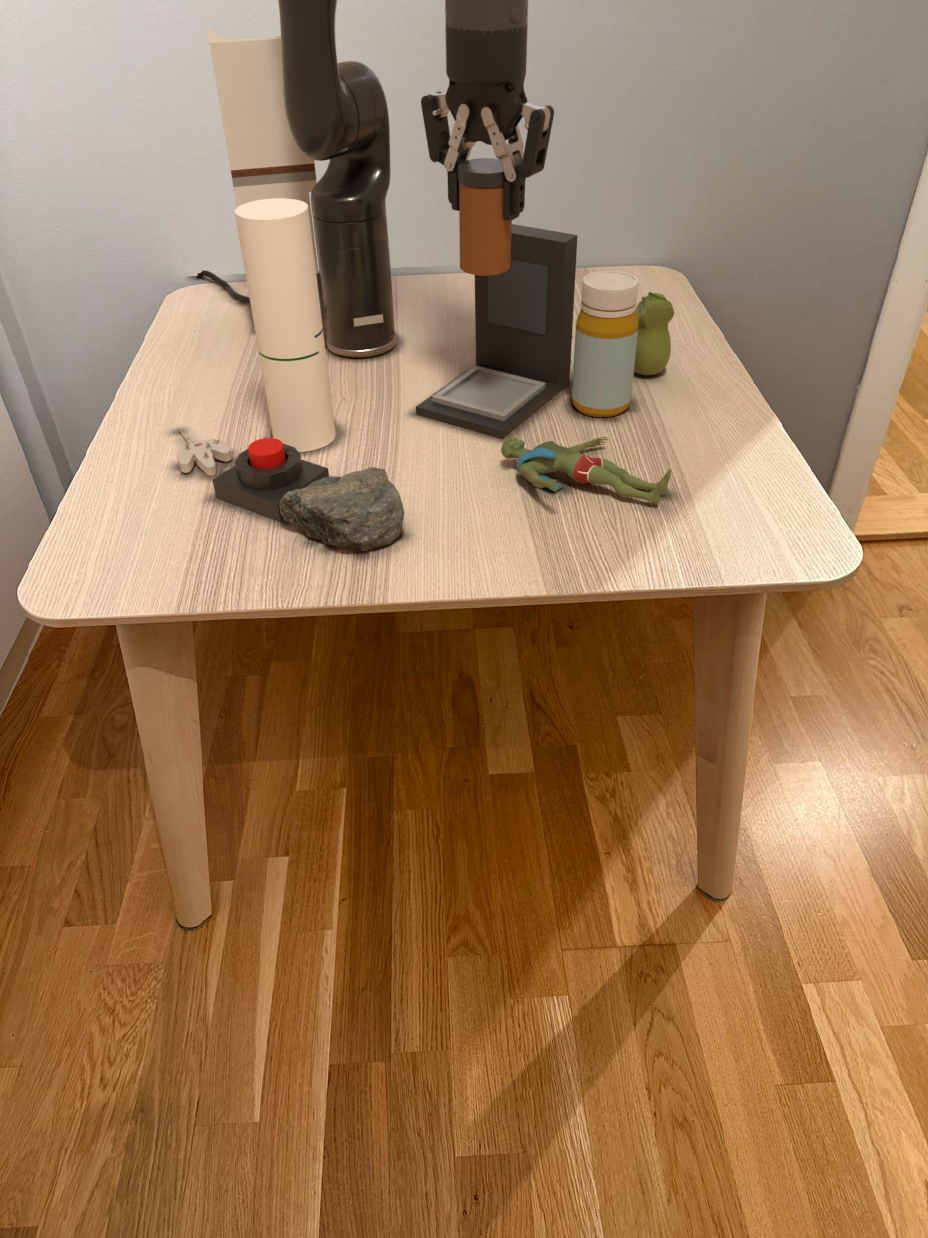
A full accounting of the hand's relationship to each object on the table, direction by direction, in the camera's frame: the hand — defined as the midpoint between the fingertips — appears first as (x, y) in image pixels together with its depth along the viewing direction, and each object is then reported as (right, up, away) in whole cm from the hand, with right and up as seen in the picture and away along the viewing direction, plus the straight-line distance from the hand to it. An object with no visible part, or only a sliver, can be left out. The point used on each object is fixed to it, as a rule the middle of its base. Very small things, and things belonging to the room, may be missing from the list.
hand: (485, 212), depth 96 cm
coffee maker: (+2, -15, +18) cm, 24 cm away
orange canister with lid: (0, -4, +4) cm, 6 cm away
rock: (-14, -33, -3) cm, 36 cm away
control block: (-22, -28, +3) cm, 36 cm away
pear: (+21, -10, +23) cm, 33 cm away
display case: (-27, +3, +41) cm, 50 cm away
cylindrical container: (-21, -21, +12) cm, 32 cm away
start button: (-22, -25, 0) cm, 34 cm away
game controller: (-32, -23, +10) cm, 41 cm away
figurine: (+10, -27, +3) cm, 29 cm away
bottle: (+14, -16, +16) cm, 27 cm away
